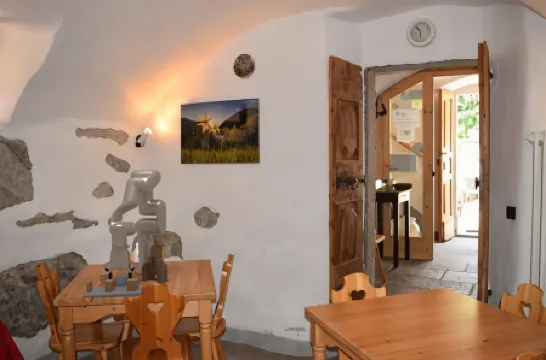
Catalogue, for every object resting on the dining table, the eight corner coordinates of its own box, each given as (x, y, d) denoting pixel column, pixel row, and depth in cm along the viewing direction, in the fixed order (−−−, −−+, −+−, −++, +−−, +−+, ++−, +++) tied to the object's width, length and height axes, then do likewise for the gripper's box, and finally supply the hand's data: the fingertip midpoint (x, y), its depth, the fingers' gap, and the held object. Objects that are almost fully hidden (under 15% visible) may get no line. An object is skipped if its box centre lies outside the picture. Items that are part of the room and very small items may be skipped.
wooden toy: (141, 280, 287) (139, 235, 286) (150, 277, 292) (148, 233, 291) (160, 284, 278) (159, 237, 277) (170, 281, 284) (168, 235, 282)
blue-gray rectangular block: (121, 282, 285) (121, 273, 285) (130, 281, 285) (129, 272, 285) (116, 288, 272) (116, 278, 272) (125, 288, 272) (124, 278, 272)
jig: (92, 289, 270) (92, 277, 270) (145, 287, 272) (145, 275, 272) (83, 298, 254) (82, 285, 254) (139, 295, 256) (139, 283, 256)
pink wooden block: (102, 283, 282) (102, 272, 281) (113, 283, 282) (112, 272, 282) (100, 285, 277) (99, 274, 277) (111, 285, 278) (110, 274, 277)
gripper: (137, 245, 277) (138, 278, 277) (104, 246, 275) (105, 279, 276) (134, 248, 269) (135, 281, 270) (100, 249, 268) (101, 282, 269)
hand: (120, 280), depth 273 cm, fingers open, 9 cm apart
